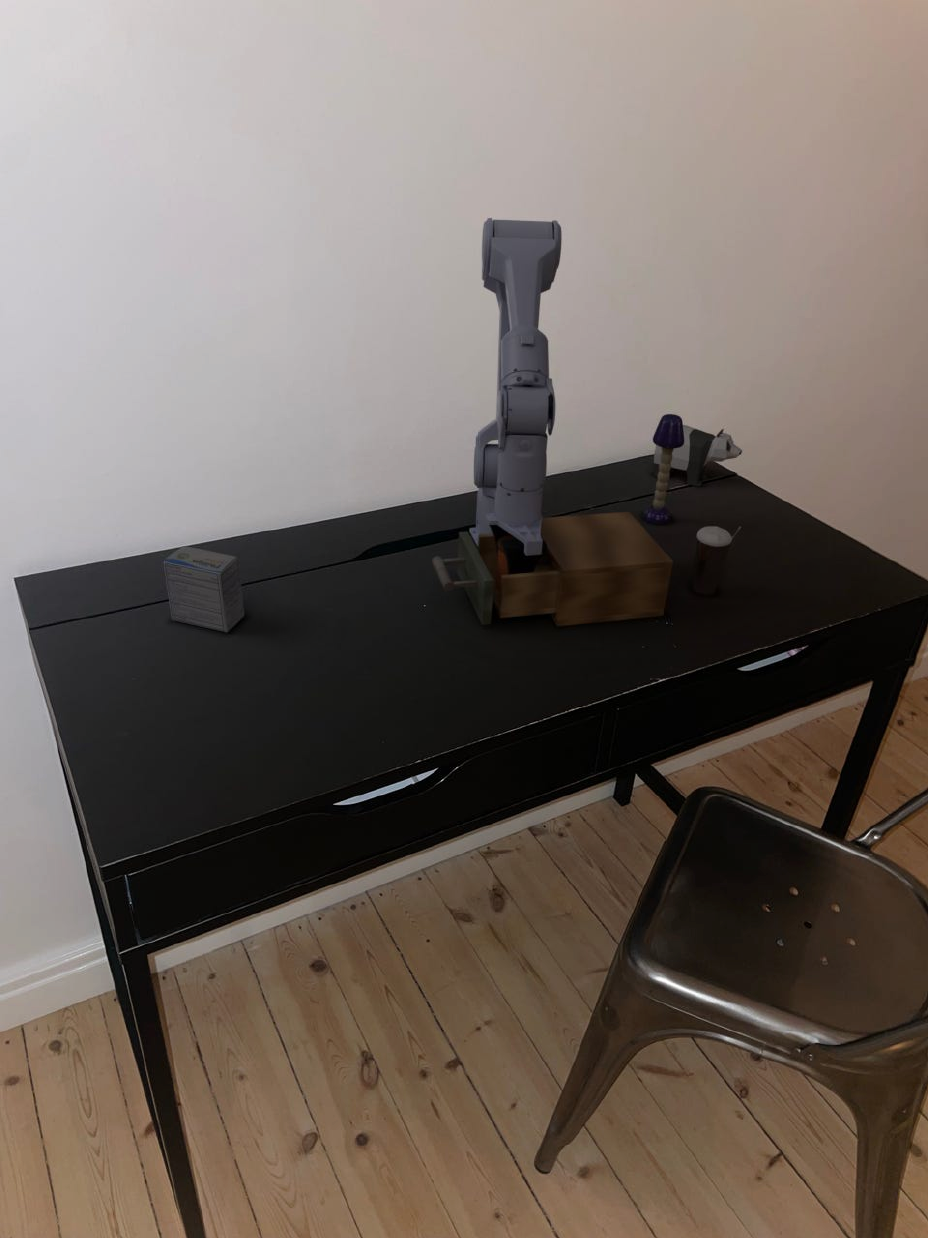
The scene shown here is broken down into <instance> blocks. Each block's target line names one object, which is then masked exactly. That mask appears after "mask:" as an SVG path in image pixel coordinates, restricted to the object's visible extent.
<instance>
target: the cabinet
mask: <svg viewBox="0 0 928 1238" xmlns="http://www.w3.org/2000/svg"><path fill="white" fill-rule="evenodd" d="M541 538H542V540H543V539H544V541H545V542H546V544H547V550H546V552H547V553H548V555H549V556H550V558H551V559H552V561H553V562H554V564H555V565H556V567H557V568H558V570H559V572H560V573H561V574H560V583H559V592H558V602H557V611H556V613H549V615H550V617H551V619H552V621H553V622H554V624H555V625H556V627H564V626H565V627H566V626H572V625H573V626H574V625H585V624H595V623H605V622H614V621H615V622H616V621H625V620H635V619H645V618H656V617H664V615H665V609H666V602H667V597H668V591H669V586H670V580H671V574H672V568H673V563H674V560H672V559H671V557H670V556H669V555H668V554H667V552H666V551H665V550H663V548H662V547H661V546H660V545H659V543H657V541H656V540H655V539H654V538H653V536H651V535H650V533H649V532H648V531H647V530H646V529H645V528H644V527H643V526H642V525H641V524H640V522H639V521H638V520H637V518H636V517H634V515H633V514H632V513H631V512H630V511H620V512H607V513H606V512H605V513H592V514H579V515H577V514H576V515H566V516H549V517H542V524H541Z"/></svg>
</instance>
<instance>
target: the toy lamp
mask: <svg viewBox="0 0 928 1238" xmlns="http://www.w3.org/2000/svg"><path fill="white" fill-rule="evenodd" d="M683 425H684V423H683V419H682V417H681V416H680V415H677V414H675V413H674V414H672V413H666V414H664V415H662V416H661V418H660V420H659V423H658V424H657V426H656V428H655V431H654V434H653V436H652V442H653V444H654V445H655V446H656V445H658V446H659V447H662V454H661V457H660V459H661V462H660V465H659V470H660V471H659V473H658V477H657V481H656V484H655V491H654V499H653V501H652V505H651V506H648V507H647V508H646V509H645V511H644V513H643V519H644V521H646V522H648V523H651V524H654V525H665V524H668V523H670V522H671V521H672V515H671V513H670V510H668V508H667V507H665V503H666V501H665V499H666V497H667V490H668V487H669V482H668V481H669V480H670V476H671V475H670V472H669V471H670V469H671V463H670V462H671V461H672V452H673V450H674V448H680V447H681V446H683V444H684V431H683Z"/></svg>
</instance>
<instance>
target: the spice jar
mask: <svg viewBox="0 0 928 1238" xmlns="http://www.w3.org/2000/svg"><path fill="white" fill-rule="evenodd" d="M508 539H516V537H514V536H513V535H507V536H503V537H501V538H500V539H499V540H498V546H497V547H498V558H497V573H496V589H497V590H498V591H499V592H500V586H501V575H508V565H507V559H506V555H505V552H504V550H503V547H502V545H501V543H500V540H508Z"/></svg>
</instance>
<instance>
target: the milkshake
mask: <svg viewBox="0 0 928 1238" xmlns="http://www.w3.org/2000/svg"><path fill="white" fill-rule="evenodd" d="M741 528H742V525H741V526H740V525H739V527H738V528H737V530H736V531H735V533H734V534H732V535H731V534H730V533H729V532H728V531H727V530H726V529H724V528H721V527H720V526H716V525H715V526H710V525H709V526H704V527H701V528H700V529H699V530H698V531H697V533H696V537H695V549H694V551H695V552H694V560H693V561H694V562H693V569H692V580H691V589H692V592H694V593H695V594H698V595H701V596H710V595H711V596H712V595H715V593H716V592H717V589H718V587H719V586H718V585H719V582H720V579H721V575H722V572H723V569H724V565H725V562H726V560H727V559H726V558H727V555H728V552H729V550H730V547H731V543H732V540H733V539H734V537H735V536H736V535H737V533H738V532H739V531H740V529H741Z"/></svg>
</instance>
